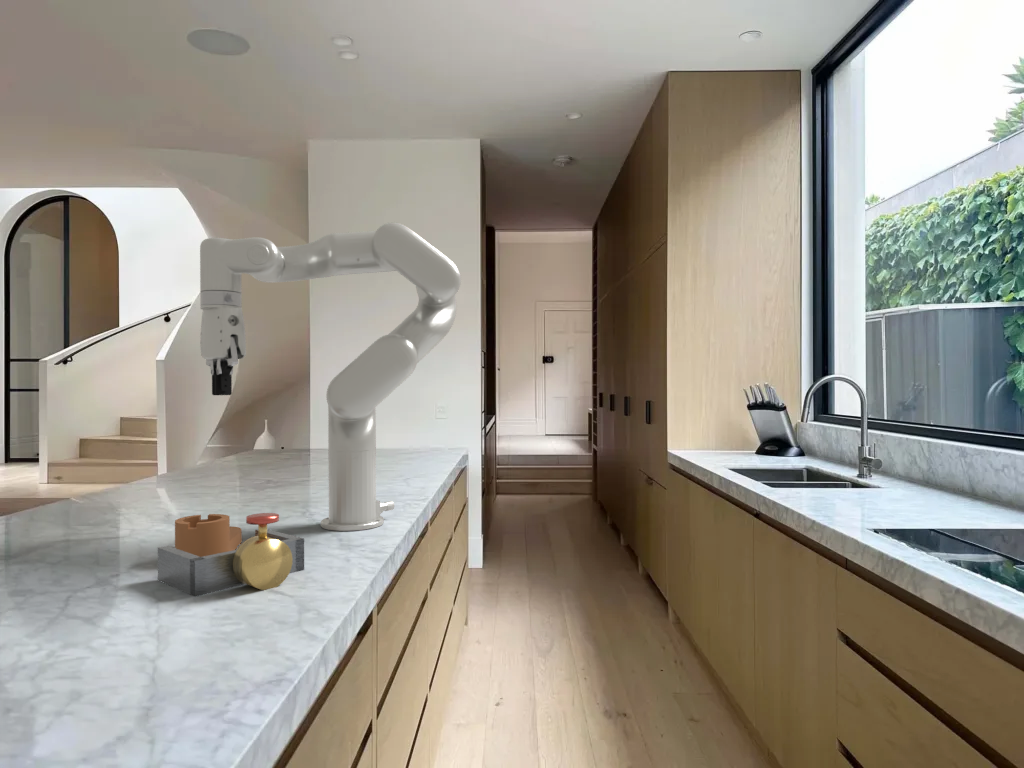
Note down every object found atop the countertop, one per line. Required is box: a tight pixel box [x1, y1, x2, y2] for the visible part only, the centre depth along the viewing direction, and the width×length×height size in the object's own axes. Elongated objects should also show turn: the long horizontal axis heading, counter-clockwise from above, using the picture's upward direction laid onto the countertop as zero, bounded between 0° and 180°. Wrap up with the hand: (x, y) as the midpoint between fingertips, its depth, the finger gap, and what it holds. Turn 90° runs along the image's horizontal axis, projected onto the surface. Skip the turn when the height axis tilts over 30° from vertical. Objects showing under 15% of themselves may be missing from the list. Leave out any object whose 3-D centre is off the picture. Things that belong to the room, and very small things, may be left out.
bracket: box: [174, 513, 243, 557], centre depth 118 cm, size 18×8×7 cm, turn 11°
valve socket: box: [157, 512, 305, 598], centre depth 101 cm, size 17×17×10 cm
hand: (221, 394), depth 134 cm, fingers closed
